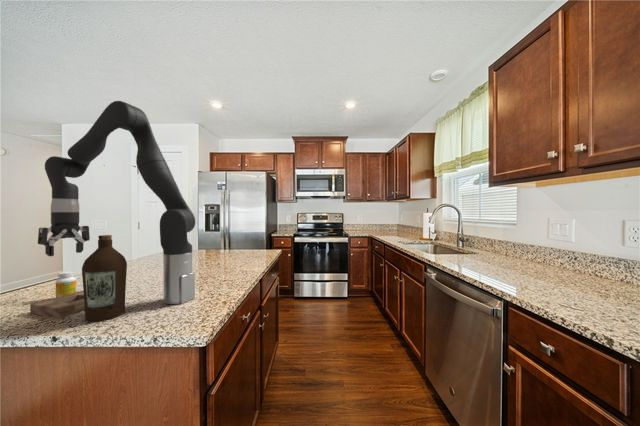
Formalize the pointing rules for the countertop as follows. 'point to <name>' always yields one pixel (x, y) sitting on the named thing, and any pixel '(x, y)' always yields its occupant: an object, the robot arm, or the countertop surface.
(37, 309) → the socket board
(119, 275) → the olive oil
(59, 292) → the supplement bottle
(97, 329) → the countertop surface
